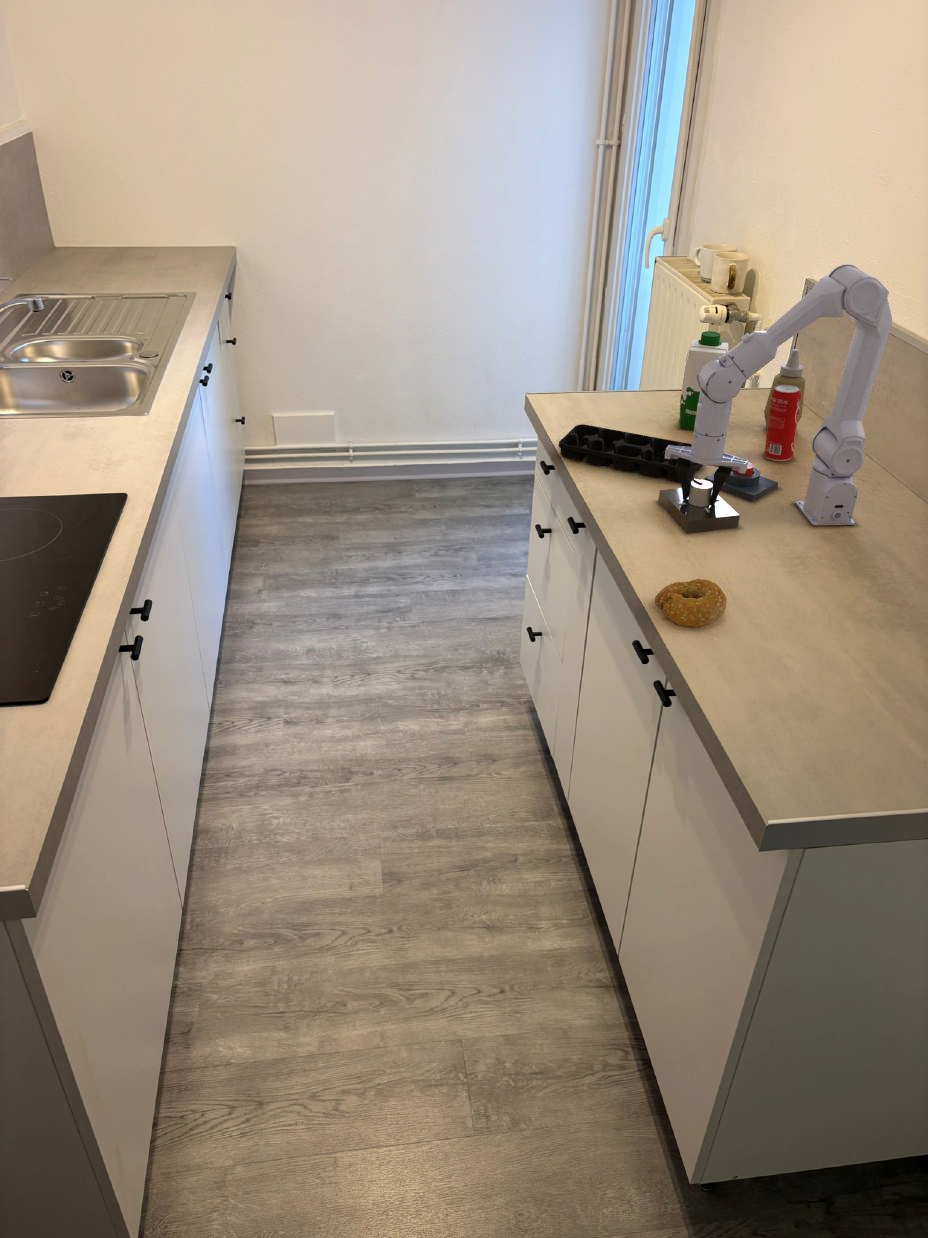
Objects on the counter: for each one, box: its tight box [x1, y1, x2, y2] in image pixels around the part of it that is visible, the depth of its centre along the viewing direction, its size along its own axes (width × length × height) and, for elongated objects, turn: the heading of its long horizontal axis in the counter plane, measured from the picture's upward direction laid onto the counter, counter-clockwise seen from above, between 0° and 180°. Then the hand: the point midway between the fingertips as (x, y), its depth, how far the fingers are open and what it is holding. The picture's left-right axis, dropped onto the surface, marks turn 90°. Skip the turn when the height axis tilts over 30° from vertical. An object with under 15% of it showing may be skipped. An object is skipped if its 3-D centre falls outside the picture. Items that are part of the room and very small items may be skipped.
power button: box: [734, 461, 755, 476], centre depth 188 cm, size 4×4×2 cm
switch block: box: [704, 467, 779, 503], centre depth 189 cm, size 11×9×3 cm
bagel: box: [654, 578, 727, 628], centre depth 149 cm, size 10×11×5 cm
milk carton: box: [679, 330, 729, 432], centre depth 211 cm, size 9×9×20 cm
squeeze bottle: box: [763, 348, 806, 429], centre depth 210 cm, size 8×8×18 cm
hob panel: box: [657, 487, 741, 534], centre depth 178 cm, size 13×10×3 cm
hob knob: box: [688, 478, 713, 507], centre depth 176 cm, size 4×4×4 cm
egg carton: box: [558, 423, 704, 483], centre depth 198 cm, size 18×30×4 cm, turn 76°
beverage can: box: [764, 384, 801, 462], centre depth 198 cm, size 6×6×15 cm
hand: (699, 500), depth 177 cm, fingers open, 4 cm apart
